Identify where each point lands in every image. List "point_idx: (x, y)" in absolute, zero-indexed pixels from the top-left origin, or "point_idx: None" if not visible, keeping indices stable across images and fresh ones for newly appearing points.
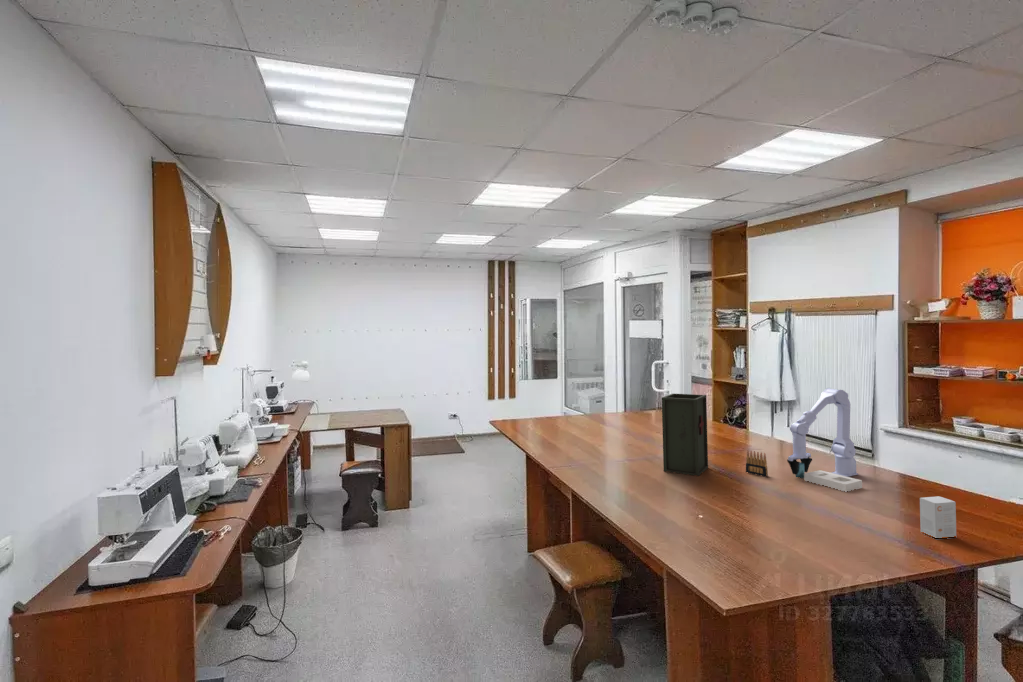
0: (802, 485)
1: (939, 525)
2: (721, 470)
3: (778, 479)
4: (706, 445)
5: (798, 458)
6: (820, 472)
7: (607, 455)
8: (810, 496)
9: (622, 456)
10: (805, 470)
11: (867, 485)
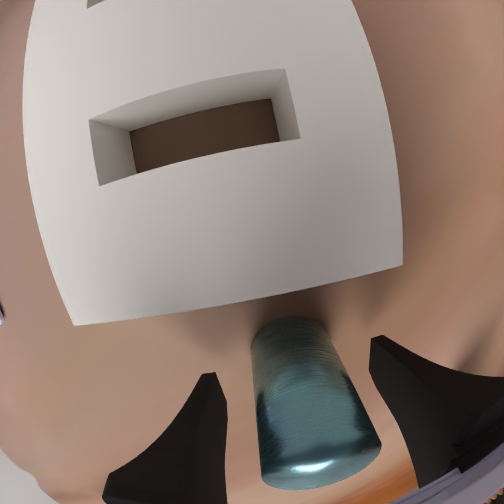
0: (462, 140)
1: None
2: None
3: (466, 323)
4: (491, 500)
5: (447, 492)
6: (131, 234)
7: None
8: (498, 18)
9: None
10: (217, 394)
11: (9, 24)
